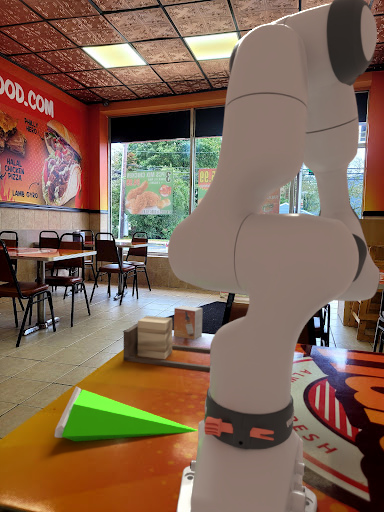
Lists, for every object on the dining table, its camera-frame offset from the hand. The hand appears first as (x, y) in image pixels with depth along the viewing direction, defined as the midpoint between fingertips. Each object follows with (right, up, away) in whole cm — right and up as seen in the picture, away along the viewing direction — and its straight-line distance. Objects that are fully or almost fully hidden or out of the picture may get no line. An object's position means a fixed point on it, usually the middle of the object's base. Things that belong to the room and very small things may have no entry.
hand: (241, 275), depth 87 cm
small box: (-13, -23, +33) cm, 42 cm away
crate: (-22, -23, +14) cm, 35 cm away
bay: (-17, -24, +13) cm, 32 cm away
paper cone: (-25, -27, -20) cm, 42 cm away
